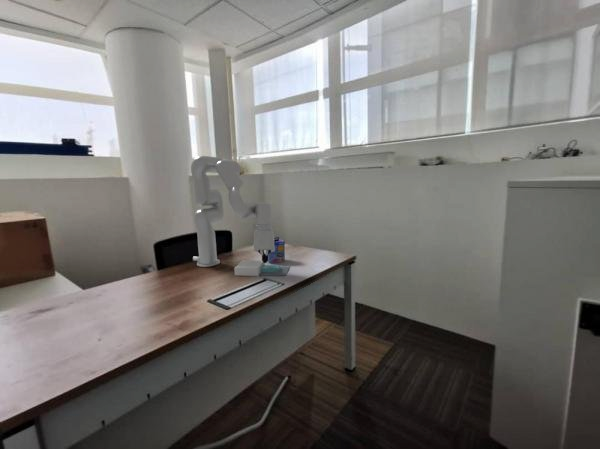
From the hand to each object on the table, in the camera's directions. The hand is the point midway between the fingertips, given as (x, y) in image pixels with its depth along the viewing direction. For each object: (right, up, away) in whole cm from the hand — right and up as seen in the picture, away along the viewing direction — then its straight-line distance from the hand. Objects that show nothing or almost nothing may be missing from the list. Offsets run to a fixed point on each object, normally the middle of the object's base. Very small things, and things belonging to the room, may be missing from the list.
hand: (265, 262), depth 142 cm
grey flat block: (-8, -5, +2) cm, 9 cm away
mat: (+5, -5, 0) cm, 7 cm away
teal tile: (+3, -4, 0) cm, 5 cm away
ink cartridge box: (+4, -2, +18) cm, 19 cm away
